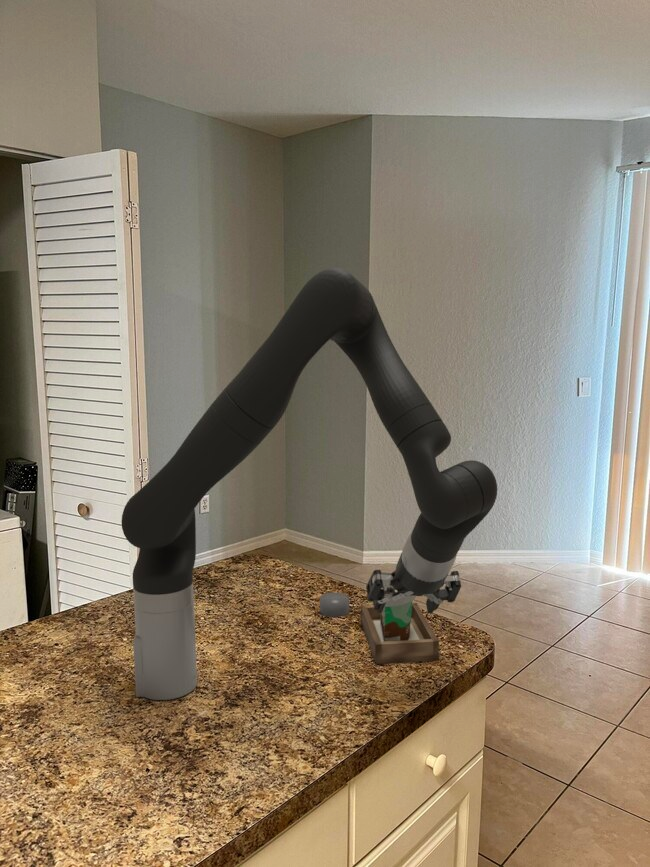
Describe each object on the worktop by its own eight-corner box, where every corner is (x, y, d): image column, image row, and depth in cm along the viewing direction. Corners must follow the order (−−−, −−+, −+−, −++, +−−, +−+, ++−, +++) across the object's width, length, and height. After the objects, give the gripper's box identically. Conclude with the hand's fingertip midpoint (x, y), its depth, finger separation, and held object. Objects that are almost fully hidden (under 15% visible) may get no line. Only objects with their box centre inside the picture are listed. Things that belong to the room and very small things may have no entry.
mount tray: (375, 664, 119) (375, 644, 118) (361, 623, 135) (361, 605, 135) (438, 660, 120) (439, 641, 119) (416, 620, 136) (416, 603, 136)
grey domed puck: (321, 618, 138) (321, 604, 138) (318, 606, 144) (318, 593, 144) (351, 617, 139) (351, 602, 138) (347, 605, 145) (347, 591, 144)
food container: (420, 649, 121) (420, 595, 120) (385, 650, 121) (385, 595, 120) (411, 620, 133) (412, 570, 132) (379, 621, 133) (379, 571, 132)
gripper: (468, 537, 106) (441, 587, 118) (377, 535, 104) (359, 586, 116) (478, 581, 101) (449, 629, 113) (382, 580, 99) (363, 629, 112)
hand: (403, 607), depth 115 cm, fingers open, 8 cm apart
